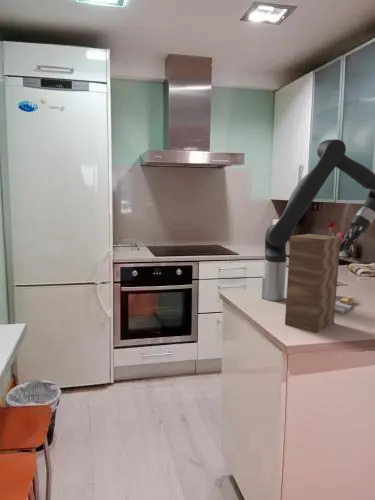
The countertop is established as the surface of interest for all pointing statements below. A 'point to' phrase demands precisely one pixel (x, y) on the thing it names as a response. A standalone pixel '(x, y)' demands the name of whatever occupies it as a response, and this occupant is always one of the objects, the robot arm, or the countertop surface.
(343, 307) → the rectangular straight-edged part
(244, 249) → the countertop surface
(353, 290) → the countertop surface
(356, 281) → the countertop surface
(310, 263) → the plinth
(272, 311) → the countertop surface
